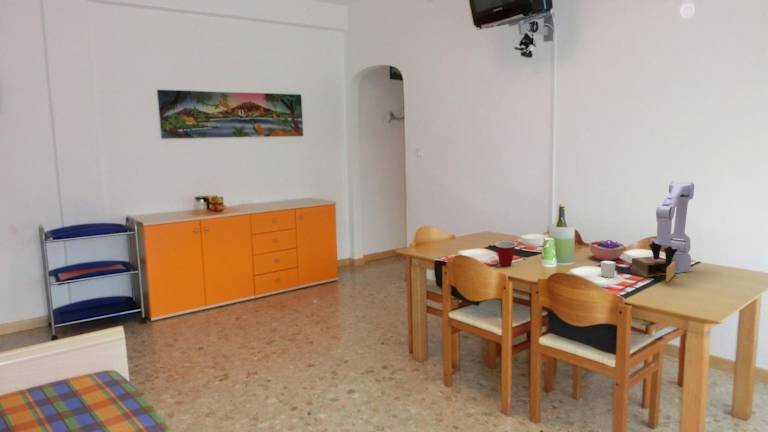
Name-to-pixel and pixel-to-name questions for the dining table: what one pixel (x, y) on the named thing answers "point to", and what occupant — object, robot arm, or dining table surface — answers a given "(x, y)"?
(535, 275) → the dining table surface
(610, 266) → the white short cylinder
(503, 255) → the plastic cup
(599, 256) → the cell model
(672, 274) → the cabinet door
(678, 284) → the dining table surface
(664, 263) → the cabinet
